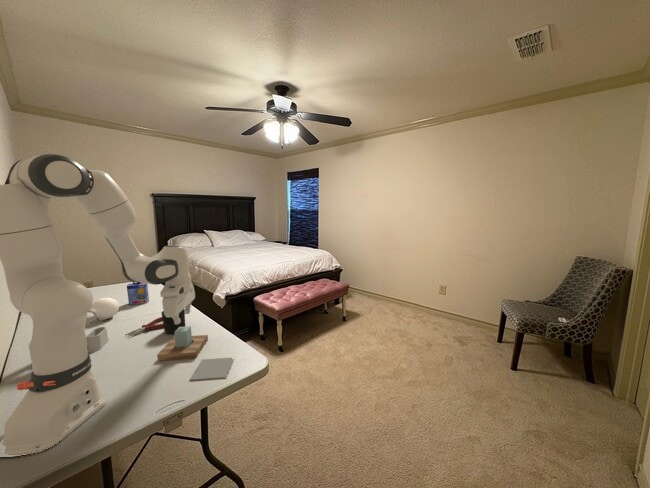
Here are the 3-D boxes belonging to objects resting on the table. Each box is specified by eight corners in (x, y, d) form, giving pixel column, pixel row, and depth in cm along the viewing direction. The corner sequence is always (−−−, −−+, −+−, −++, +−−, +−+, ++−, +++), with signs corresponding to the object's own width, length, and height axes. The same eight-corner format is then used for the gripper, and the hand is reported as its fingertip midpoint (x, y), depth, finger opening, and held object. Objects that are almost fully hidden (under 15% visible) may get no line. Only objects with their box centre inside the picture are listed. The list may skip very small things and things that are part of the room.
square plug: (188, 352, 107) (186, 331, 105) (176, 353, 106) (174, 332, 105) (192, 346, 111) (190, 326, 110) (181, 347, 111) (179, 326, 109)
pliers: (121, 335, 123) (120, 329, 123) (165, 319, 140) (165, 314, 140) (132, 341, 117) (132, 336, 117) (178, 324, 134) (177, 319, 134)
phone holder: (111, 339, 119) (105, 300, 116) (100, 350, 109) (94, 308, 107) (61, 346, 113) (55, 306, 110) (46, 359, 103) (38, 315, 101)
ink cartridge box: (128, 305, 160) (125, 282, 158) (130, 302, 165) (127, 280, 163) (147, 302, 164) (145, 280, 162) (149, 300, 169) (146, 278, 167)
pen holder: (165, 328, 129) (163, 308, 128) (187, 324, 132) (185, 305, 131) (161, 336, 120) (159, 315, 119) (184, 333, 123) (182, 312, 122)
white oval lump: (120, 321, 142) (109, 317, 150) (125, 298, 144) (113, 296, 152) (91, 322, 131) (80, 318, 139) (96, 298, 133) (85, 295, 141)
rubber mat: (226, 378, 90) (226, 376, 90) (189, 380, 89) (189, 379, 89) (234, 358, 102) (234, 357, 102) (202, 360, 101) (202, 359, 101)
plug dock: (196, 358, 102) (195, 352, 102) (157, 360, 101) (157, 354, 101) (208, 340, 116) (207, 334, 116) (174, 342, 115) (174, 336, 115)
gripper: (182, 278, 115) (185, 308, 117) (157, 294, 95) (162, 330, 97) (197, 277, 116) (200, 307, 118) (175, 293, 95) (180, 329, 98)
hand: (182, 318), depth 107 cm, fingers open, 8 cm apart
